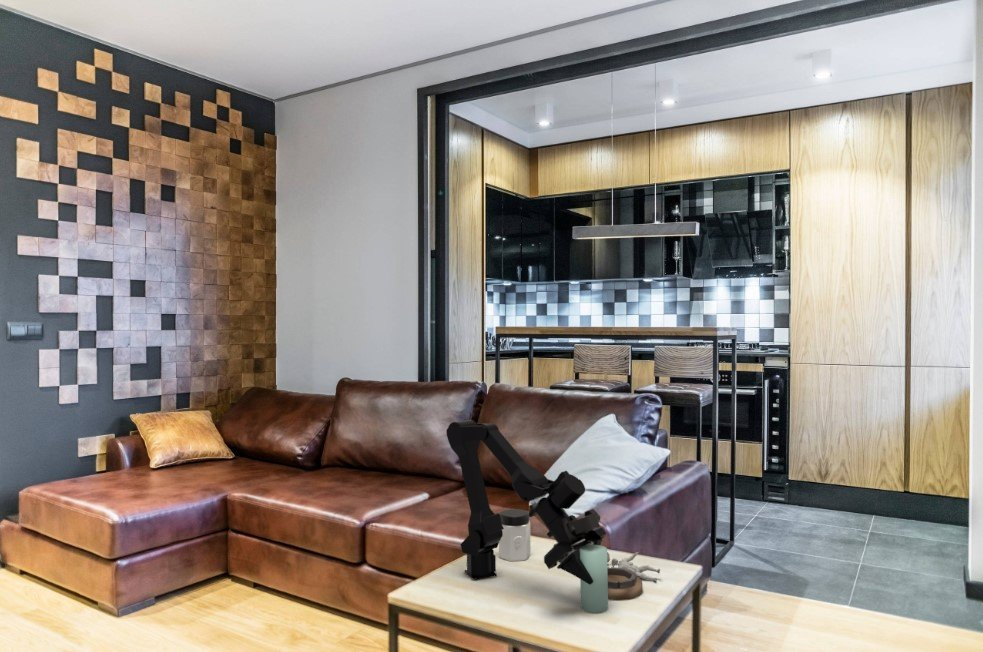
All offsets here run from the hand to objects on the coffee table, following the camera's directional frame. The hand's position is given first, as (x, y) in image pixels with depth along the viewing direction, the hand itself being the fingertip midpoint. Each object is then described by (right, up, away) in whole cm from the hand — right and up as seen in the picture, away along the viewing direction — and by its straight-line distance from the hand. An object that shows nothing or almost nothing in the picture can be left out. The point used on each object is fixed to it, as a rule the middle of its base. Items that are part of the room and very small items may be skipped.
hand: (599, 579), depth 147 cm
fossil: (0, -8, +30) cm, 31 cm away
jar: (-17, -8, +36) cm, 41 cm away
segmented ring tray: (+5, -7, +11) cm, 14 cm away
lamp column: (-1, -7, +1) cm, 7 cm away
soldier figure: (+12, -7, +19) cm, 24 cm away
